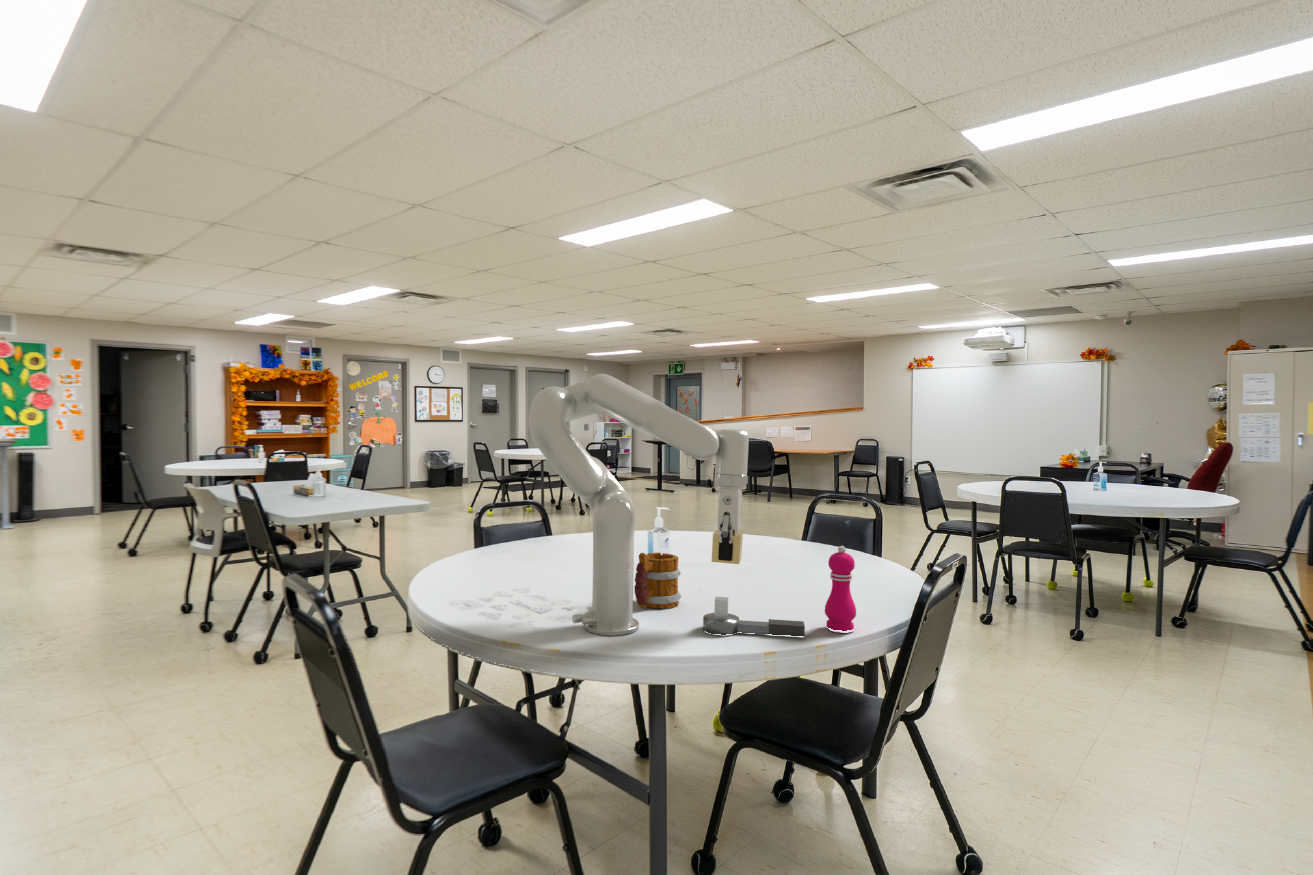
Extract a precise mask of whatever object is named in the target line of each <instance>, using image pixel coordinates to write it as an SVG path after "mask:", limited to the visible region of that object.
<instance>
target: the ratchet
mask: <svg viewBox="0 0 1313 875" xmlns="http://www.w3.org/2000/svg"><path fill="white" fill-rule="evenodd" d="M702 627H703V628H702V631H703V630H704V631H706V632H708V633H711V634H721V635H726V634H735V633H737V632H742V633H755V634H772V635H791V636H805V632H806V631H805V628H806V627H805V622H804V621H802V620H801V621H800V620H790V619H789V620H788V619H786V620H785V619H772V618H770V619H769V618H768V621H756V620H741V619H740V617H739V616H738V615H735V614H732V613H729V597H727V596H726V597H725V596H715V598H714V612H710V613H706V614H704V615H703V618H702ZM704 631H703V632H704ZM805 637H806V636H805Z"/></svg>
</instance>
